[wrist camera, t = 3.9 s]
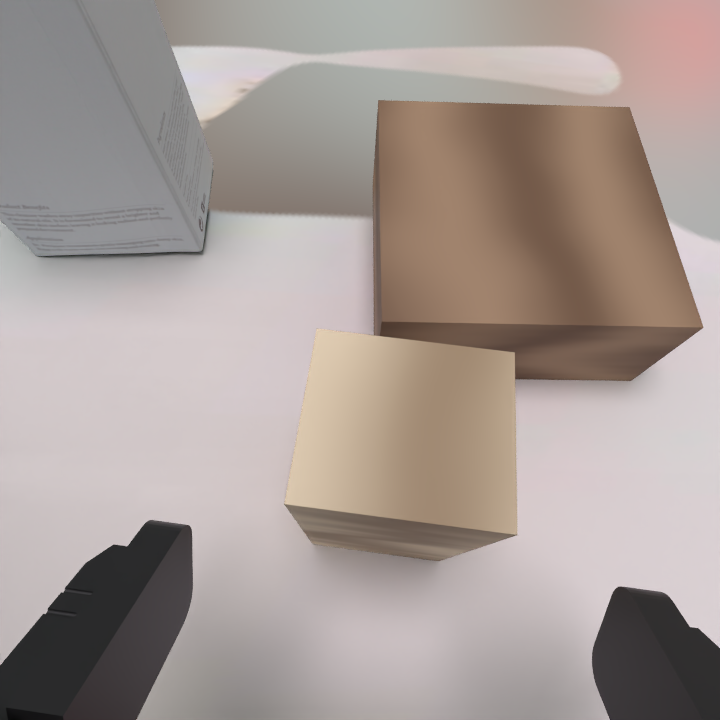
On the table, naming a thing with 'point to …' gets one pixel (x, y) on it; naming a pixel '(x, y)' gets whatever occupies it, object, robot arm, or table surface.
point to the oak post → (405, 447)
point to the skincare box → (97, 131)
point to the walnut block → (526, 238)
